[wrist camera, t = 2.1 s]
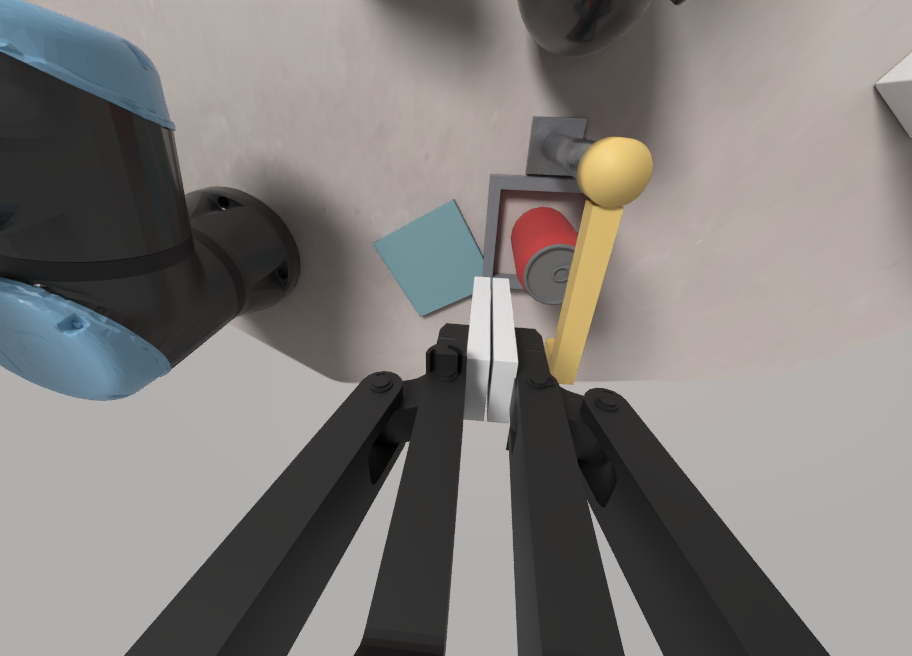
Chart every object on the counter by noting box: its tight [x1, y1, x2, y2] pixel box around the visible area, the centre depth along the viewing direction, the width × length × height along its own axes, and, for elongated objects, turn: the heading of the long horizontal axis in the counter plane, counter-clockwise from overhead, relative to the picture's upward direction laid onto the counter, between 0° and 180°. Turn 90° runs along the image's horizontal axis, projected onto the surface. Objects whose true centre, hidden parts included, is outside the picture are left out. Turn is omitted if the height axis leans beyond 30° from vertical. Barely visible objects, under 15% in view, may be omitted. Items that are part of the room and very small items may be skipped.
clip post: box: [526, 117, 597, 179], centre depth 27 cm, size 5×5×18 cm
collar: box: [482, 174, 583, 289], centre depth 38 cm, size 12×12×2 cm
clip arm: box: [544, 136, 653, 385], centre depth 22 cm, size 16×3×4 cm, turn 178°
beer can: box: [511, 207, 578, 305], centre depth 34 cm, size 7×7×12 cm
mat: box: [373, 199, 484, 317], centre depth 41 cm, size 11×11×1 cm
